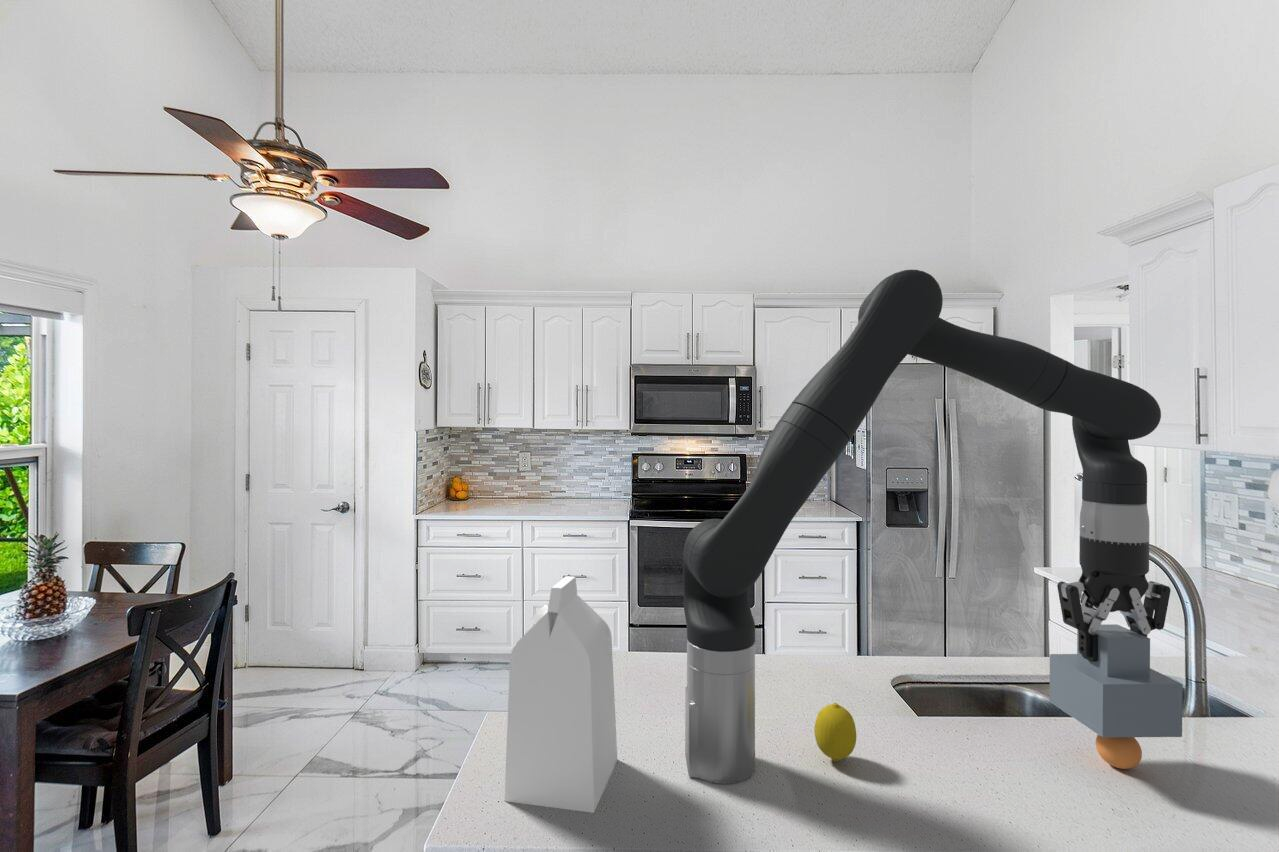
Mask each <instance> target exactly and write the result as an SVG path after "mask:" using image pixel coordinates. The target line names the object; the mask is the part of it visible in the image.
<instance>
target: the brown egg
mask: <svg viewBox="0 0 1279 852" xmlns="http://www.w3.org/2000/svg"><path fill="white" fill-rule="evenodd" d="M1095 748H1096V751H1097V753H1098V754H1099V756H1100V757H1101V759H1102V760H1104V762H1106V763H1107V764H1108V765H1109V766H1112V767H1114V768H1117V769H1122V770H1129V769H1134V768H1135V767H1137V766H1138V765H1139V764H1140V762H1141V761H1142V757H1143V753H1142V752H1143V751H1142V747H1141V745H1140V743H1139V741H1138V740H1137V739H1136V737H1101V736H1100V735H1098V734H1096V738H1095Z"/></svg>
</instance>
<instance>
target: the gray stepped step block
mask: <svg viewBox="0 0 1279 852" xmlns="http://www.w3.org/2000/svg"><path fill="white" fill-rule="evenodd" d="M1076 631H1077V634H1076V635H1077V636H1076V646H1077V647H1076V653H1050V654H1049V702H1050V703H1051V704H1053V705H1055V706H1056V707H1058V708H1059V709H1060V710H1062V711H1064V712H1065V713H1066V714H1067V715H1069V716H1071V717H1072V718H1073V719H1075V720H1077V721H1078V722H1079V723H1081V724H1083V726H1085V727H1087V728H1088V729H1090V731H1091V730H1092V732H1094V733H1096V735H1100V736H1101V737H1134V738H1183V696H1184V695H1183V687H1184V686H1183V685H1184V684H1183V683H1182V682H1179V681H1177V680H1175V679H1173V678H1171V677H1169V676H1167V675H1165V674H1163V673H1161V672H1159V671H1156V670H1154V669H1153V668H1151V638H1149V637H1148V636H1147V637H1145V636H1143V635H1141V634H1138V633H1136V632H1134V631H1131V630H1130V628H1129V629H1128V628H1127V627H1124V626H1122V625H1120V624H1111V623H1110V624H1101V625H1100V627H1099V629H1098V632H1097V633H1096V634H1097V635H1098V661H1097V662H1091V661H1089V660H1087V659H1085V658H1083V656H1082V654H1080V652H1079V632H1078V629H1076Z"/></svg>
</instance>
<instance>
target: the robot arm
mask: <svg viewBox="0 0 1279 852" xmlns="http://www.w3.org/2000/svg"><path fill="white" fill-rule="evenodd" d="M943 301H944V300H943V292H942V288H941V287H940V285H939V282H938V281H937V280H936V278H935V277H934V276H932V275H931V274H929V273H928V272H926V271H923V270H920V269H905V270H900V271H898V272H894V273H892V274H890V275H889V276H886V277H885V278H884V279H882V280H881V281H879V283H877V285H876V286H874V288H873V289H872V290H871V292H870V293H869V294H868V295H867V296H866V297H865V298H864V300H863V301H862V303H861V305H860V307H859V310H858V314H857V321H858V323H857V324H856V325H855V328H854V329H853V330H852V332H851V334H850V335H849V337H848V338H847V340H846V341H845V342H844V344H843V345H842V347H841V348H839V350H837V352H836V353H835V354H834V355H833V356H832V357H831V358H830V359H829V360H828V362H826V363H825V364H824V365H823V366H822V368H820V369H819V371H818V372H816V374H814V375H813V377H812V378H811V379H810V380H809V381H808V383H807V384H805V386H804V387H803V388H802V389H801V390H800V391H799V393H798V394H797V396H796V397H794V399H793V400H792V402H791V404H790V405H789V406H788V407H787V409H785V412H784V413H783V414H782V415H781V417H780V419H779V420H778V421H777V423H776V424H775V425H774V428H773V429H772V431H771V432H770V434H769V437H768V439H767V440H766V443H765V445H764V448H763V450H762V453H761V454H760V457H759V461H758V464H757V466H756V469H755V472H754V474H753V477H752V478H751V480H750V483H749V485H748V486H747V488H746V490H745V491H744V493H743V494H742V495H741V497H740V498H739V500H738V501H737V502H736V503H735V504H734V506H733V507H732V508H731V509H730V510H729V511H728V513H727V514H726V515H725V516H724V518H723V519H721V518H710V519H709V518H708V519H705V520H703V521H701V522H699V523H697V524H696V525H695V526H694V527H692V528H691V530H690V531H689V533H688V535H687V537H686V540H685V543H684V546H683V553H682V554H683V555H682V556H683V557H682V577H683V579H682V581H683V584H682V585H683V612H684V617H685V621H686V622H685V623H686V686H685V689H684V690H685V695H684V699H685V700H684V704H685V705H684V706H685V707H684V710H685V711H684V712H685V713H684V715H685V718H684V719H685V720H684V721H685V722H684V727H685V728H684V733H685V734H684V737H685V739H684V741H685V742H684V747H685V748H684V752H685V761H686V766H687V774H688V777H689V778H699V779H702V780H705V782H706V781H707V782H710V783H716V784H734V783H735V784H736V783H739V782H743V781H745V780H746V779H749V778H750V777H752V775H753V774H754V772H755V768H756V623H755V619H754V617H753V613H752V610H751V605H750V599H749V589H750V588H751V587H752V586H753V585H754V584H755V583H756V582H757V581H758V579H759V577H760V576H761V575H762V573H763V571H764V569H765V568H766V566H767V564H768V563H769V561H770V558H771V556H772V555H773V553H774V551H775V549H776V548H777V546H778V544H779V542H780V541H781V539H782V537H783V535H784V533H785V532H786V531H787V529H788V527H789V525H790V524H791V522H792V521H793V519H794V517H795V516H796V515H797V513H799V511H800V510H801V508H802V507H803V506H804V505H805V503H806V501H807V500H808V499H809V497H810V496H811V495H812V493H813V492H814V490H815V489H816V487H817V486H818V485H819V484H820V482H821V481H822V479H823V478H824V477H825V475H826V474H827V473H828V472H829V470H830V468H832V467H833V465H834V464H835V462H836V461H837V459H838V458H839V456H840V455H841V454H842V453H843V451H844V449H845V448H846V446H847V445H848V444H849V442H850V441H852V438H853V437H854V435H855V434H856V432H857V430H858V429H859V427H860V426H861V424H862V423H863V421H864V420H865V418H866V417H867V415H868V414H869V411H870V410H871V409H872V407H873V405H874V403H875V402H876V400H877V398H878V397H879V395H880V393H881V392H882V391H883V388H884V386H885V385H886V383H887V382H888V380H889V379H890V377H891V376H892V375H893V372H894V371H895V370H896V369H897V367H898V366H899V365H900V364H901V362H902V361H903V360H905V358H906V357H907V356H908V355H909V356H913V357H916V358H919V359H922V360H925V361H928V362H931V363H934V364H937V365H940V366H943V367H944V368H945V367H946V368H949V369H951V370H954V371H956V372H959V373H961V374H963V375H967V376H968V377H971V378H974V379H976V380H979V381H981V382H984V383H986V384H988V385H990V386H991V387H992V386H993V387H994V388H997V389H999V390H1001V391H1003V392H1005V393H1008V394H1009V395H1011V396H1014V397H1016V398H1018V399H1020V400H1022V401H1024V402H1026V403H1028V404H1030V405H1033V406H1034V407H1037V408H1039V409H1042V410H1045V411H1047V412H1054V413H1059V414H1064V415H1067V416H1070V417H1071V424H1072V425H1071V426H1072V434H1073V437H1074V443H1075V446H1076V447H1075V448H1076V450H1077V455H1078V458H1079V461H1080V464H1081V469H1082V479H1081V480H1082V481H1081V506H1080V514H1079V552H1078V553H1079V561H1078V562H1079V565H1080V568H1081V575H1080V577H1079V579H1078V581H1074V582H1069V583H1068V582H1065V581H1063V580H1062V581H1059V582H1058V583H1057V586H1056V587H1057V592H1058V598H1059V599H1058V600H1059V603H1060V610H1061V615H1062V621H1063V623H1064V624H1066V625H1068V626H1069V627H1072V628H1074V629H1076V630H1077V629H1078V632H1079V652H1080V654H1082V656H1083V658H1085V659H1087V660H1089V661H1091V662H1097V661H1098V635H1097V634H1096V633H1097V632H1098V629H1099V627H1100V625H1102V622H1103V621H1106V620H1107V619H1108V616H1109V614H1110V613H1114V612H1118V611H1119V613H1120V614H1122V615H1123V618H1124V619H1125V623H1126V624H1127V626H1128V628H1129V630H1131V631H1134V632H1136V633H1138V634H1141V635H1143V636H1145V637H1148V635H1149V634H1150V633H1151V632H1152V631H1155V630H1158V631H1161V630H1163V629H1164V627H1165V622H1166V617H1167V612H1168V608H1169V607H1168V606H1169V601H1170V596H1171V587H1170V586H1169V585H1166V584H1163V583H1160V582H1156V581H1153V580H1152V581H1151V580H1150V581H1148V580H1147V577H1146V575H1147V574H1149V571H1150V516H1149V510H1148V504H1147V503H1148V471H1147V467H1146V466H1145V464H1144V462H1142V461H1140V460H1138V459H1137V458H1135V457H1134V456H1133V455H1132V452H1131V448H1130V442H1129V441H1132V440H1138V439H1142V438H1144V437H1147V436H1148V435H1150V434H1151V433H1152V432H1154V431H1155V430H1156V429H1157V427H1159V424H1160V423H1161V419H1162V411H1161V407H1160V404H1159V403H1158V401H1157V400H1156V399H1155V397H1154V396H1153V395H1152V394H1151V393H1149V392H1148V391H1147V390H1145V389H1144V388H1142V387H1140V386H1138V385H1136V384H1133V383H1131V382H1129V381H1125V380H1122V379H1120V378H1116V377H1113V376H1110V375H1106V374H1103V373H1101V372H1097V371H1092V370H1089V369H1086V368H1082V367H1080V366H1078V365H1076V364H1074V363H1072V362H1070V361H1068V360H1065V358H1062V357H1059V356H1057V355H1055V354H1053V353H1050V352H1049V351H1047V350H1044V349H1042V348H1040V347H1037V346H1035V345H1032V344H1030V343H1027V342H1024V341H1020V340H1016V339H1013V338H1007V337H1003V336H997V335H994V334H989V333H984V332H979V331H975V330H972V329H969V328H965V327H962V326H959V325H957V324H954V323H951V322H949V321H947V320H945V319H944V318H942V317H940V315H941V313H942V310H943ZM1082 593H1083V594H1084V596H1083V595H1082ZM1083 597H1084V598H1083ZM1143 597H1144V599H1143V602H1142V598H1143ZM1081 599H1083V600H1082V602H1081ZM1094 607H1095V608H1096V609H1094Z"/></svg>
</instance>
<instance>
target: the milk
mask: <svg viewBox="0 0 1279 852" xmlns="http://www.w3.org/2000/svg"><path fill="white" fill-rule="evenodd" d="M530 621H531V622H532V624H533V626H532V627H530V629H529V630H528V631H527V632H526V633H525V634H524V635H522V637H521V638H520V639H519V640H518V641H517V642H516V643H515V644H514V645H513V647H512V650H511V652H510V657H509V673H508V676H509V678H508V698H507V702H508V703H507V724H506V726H507V727H506V748H505V749H506V750H505V755H506V756H505V776H504V777H505V778H504V781H505V782H504V798H503V799H504V802H509V803H515V804H516V803H517V804H523V805H532V806H537V807H538V806H539V807H548V808H553V809H554V808H555V809H562V810H568V811H577V812H578V811H579V812H585V813H593V814H595V811H596V809H597V807H598V805H599V803H600V800H601V798H602V796H603V793H604V791H605V789H606V787H607V785H608V783H609V780H610V778H611V775H612V773H613V771H614V768H615V766H616V764H617V762H618V745H617V744H618V741H617V725H616V724H617V721H616V719H617V718H616V704H615V703H616V702H615V701H616V699H615V682H614V679H615V678H614V663H613V662H614V661H613V660H614V659H613V642H612V641H613V639H612V631H611V628H610V627H609V624H608V623H607V622H606V621H605V620H604V618H602V617H601V616H600V614H598V612H596V611H595V610H594V609H593V608H592V607H591V606H590V605H589V604H588V603H587V602H586V601H584V599H582V598H581V597H580V595H578V588H577V580H576V576H568V575H567V576H566V575H565V576H564V577H563V578H561V580H559V581H558V582H557V583H555V584H554V585H552V587H551V588H550V594H549V600H548V605H547V604H544V605H543V606H542V607H540V608H539V609H538V611H536V612H535V614H534V615H533V616H532V617H531V618H530Z"/></svg>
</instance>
